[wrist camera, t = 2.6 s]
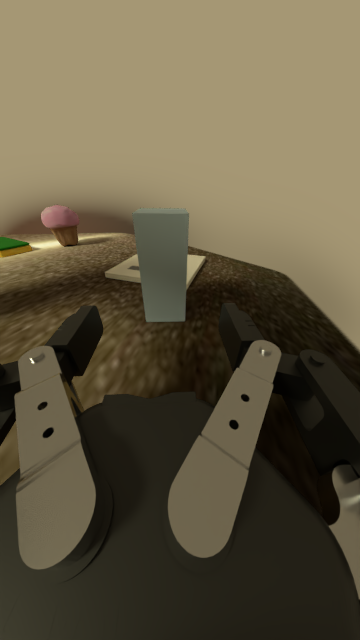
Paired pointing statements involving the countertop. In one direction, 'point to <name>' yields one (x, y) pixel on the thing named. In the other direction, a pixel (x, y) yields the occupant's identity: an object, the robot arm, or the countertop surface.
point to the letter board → (132, 273)
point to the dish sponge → (13, 247)
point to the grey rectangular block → (162, 261)
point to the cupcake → (61, 223)
